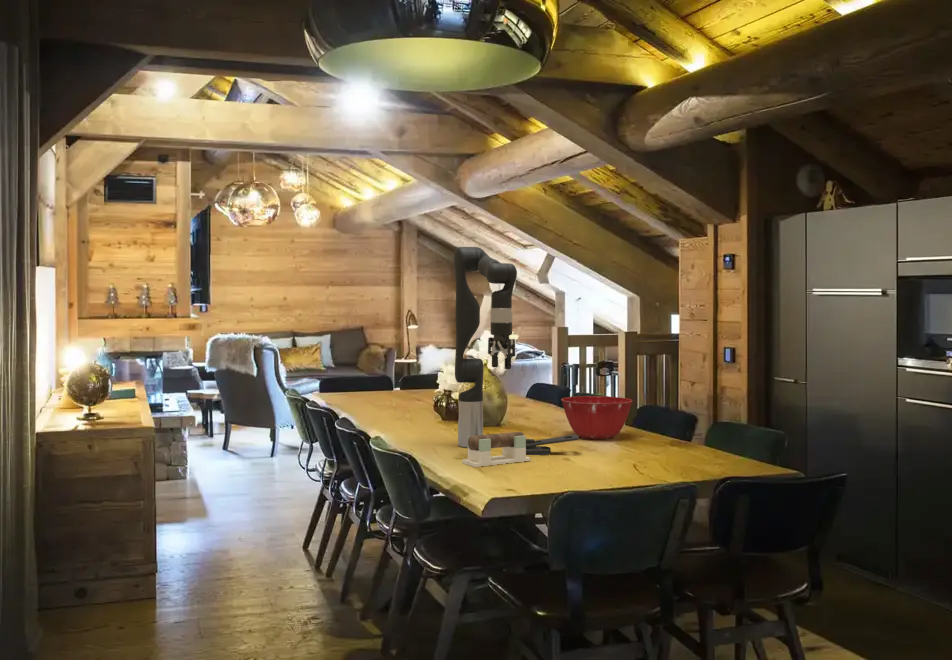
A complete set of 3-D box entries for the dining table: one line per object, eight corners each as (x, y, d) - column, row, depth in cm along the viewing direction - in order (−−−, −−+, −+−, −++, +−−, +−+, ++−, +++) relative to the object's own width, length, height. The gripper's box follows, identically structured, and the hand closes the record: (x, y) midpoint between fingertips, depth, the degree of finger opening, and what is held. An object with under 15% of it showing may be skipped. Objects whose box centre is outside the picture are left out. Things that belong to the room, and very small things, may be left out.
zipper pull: (580, 437, 330) (510, 437, 328) (580, 455, 330) (510, 456, 329) (576, 433, 338) (508, 434, 337) (576, 451, 339) (508, 452, 338)
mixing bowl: (561, 431, 388) (561, 394, 387) (629, 432, 385) (629, 395, 385) (561, 442, 360) (561, 402, 359) (634, 443, 357) (635, 403, 356)
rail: (474, 451, 309) (474, 436, 309) (467, 449, 313) (467, 435, 313) (525, 446, 319) (524, 432, 319) (517, 444, 323) (517, 430, 323)
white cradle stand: (475, 467, 307) (475, 440, 307) (462, 463, 315) (462, 436, 314) (530, 461, 318) (530, 435, 318) (516, 457, 326) (516, 432, 325)
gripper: (481, 320, 322) (481, 367, 323) (502, 322, 310) (502, 370, 310) (499, 320, 326) (499, 366, 326) (521, 321, 313) (521, 369, 314)
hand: (501, 368), depth 318 cm, fingers open, 8 cm apart
